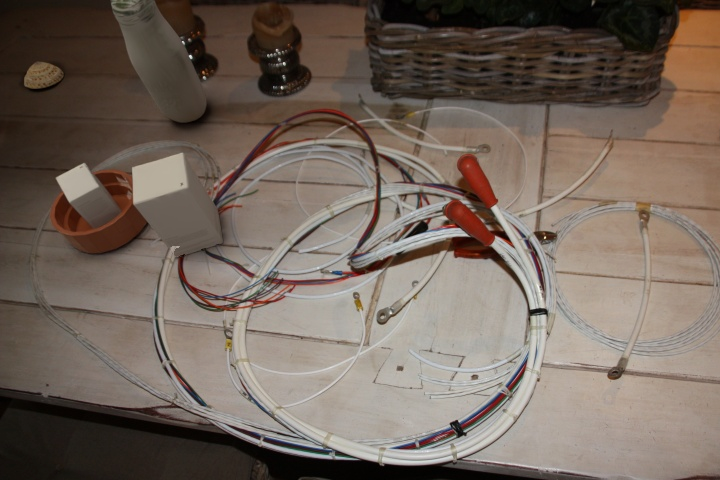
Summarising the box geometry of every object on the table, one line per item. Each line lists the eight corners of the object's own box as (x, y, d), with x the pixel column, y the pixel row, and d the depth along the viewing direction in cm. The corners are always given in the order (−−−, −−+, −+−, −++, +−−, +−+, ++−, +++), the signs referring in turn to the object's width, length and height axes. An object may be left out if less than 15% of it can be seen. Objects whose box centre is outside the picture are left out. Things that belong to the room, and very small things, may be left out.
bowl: (67, 265, 98) (46, 245, 93) (72, 203, 107) (53, 182, 102) (152, 240, 99) (136, 220, 94) (151, 181, 108) (135, 160, 103)
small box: (88, 215, 104) (53, 177, 95) (115, 200, 105) (84, 161, 97) (102, 240, 100) (67, 202, 91) (130, 224, 101) (99, 185, 93)
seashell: (14, 76, 130) (34, 50, 130) (37, 89, 135) (57, 64, 135) (26, 90, 126) (47, 63, 126) (49, 103, 131) (69, 78, 131)
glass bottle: (162, 132, 116) (87, 8, 93) (177, 101, 122) (109, -24, 99) (205, 131, 115) (140, 5, 92) (218, 99, 121) (160, -27, 98)
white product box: (218, 208, 102) (184, 150, 90) (224, 243, 97) (189, 187, 85) (171, 222, 101) (130, 165, 89) (174, 259, 96) (131, 204, 84)
